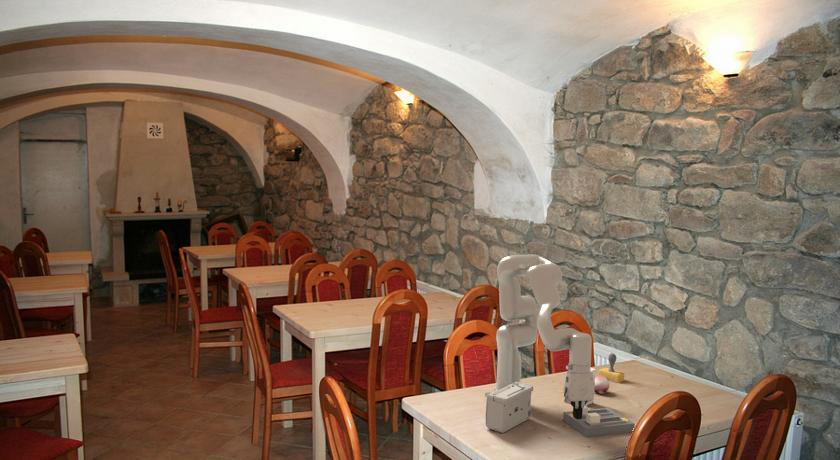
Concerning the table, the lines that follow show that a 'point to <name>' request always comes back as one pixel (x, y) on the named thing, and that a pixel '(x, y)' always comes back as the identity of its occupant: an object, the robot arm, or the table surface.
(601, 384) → the apple
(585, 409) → the back tab
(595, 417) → the front tab
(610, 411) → the switch panel
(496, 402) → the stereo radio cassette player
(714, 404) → the table surface
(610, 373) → the rubber stamp
